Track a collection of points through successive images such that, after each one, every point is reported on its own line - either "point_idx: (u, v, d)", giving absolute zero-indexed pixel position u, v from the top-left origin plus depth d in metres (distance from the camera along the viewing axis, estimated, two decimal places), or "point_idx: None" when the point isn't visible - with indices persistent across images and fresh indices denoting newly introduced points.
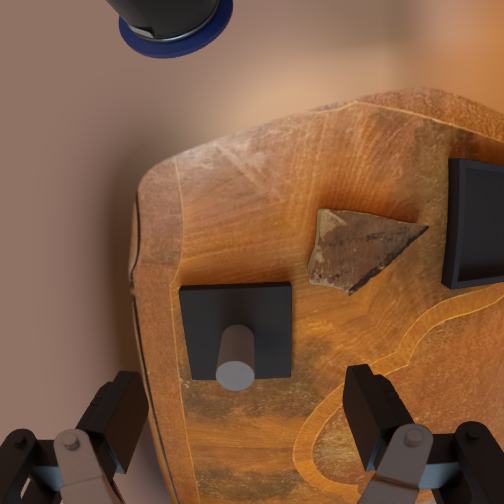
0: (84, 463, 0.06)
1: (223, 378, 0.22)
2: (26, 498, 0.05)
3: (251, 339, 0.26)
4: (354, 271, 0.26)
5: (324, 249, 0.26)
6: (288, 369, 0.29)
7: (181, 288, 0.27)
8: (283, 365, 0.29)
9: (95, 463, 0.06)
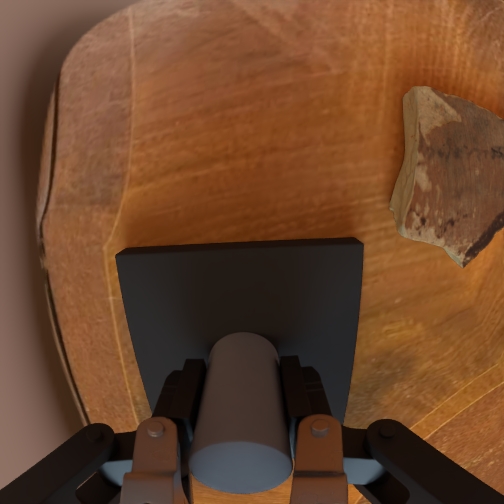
0: (162, 455, 0.06)
1: (209, 473, 0.07)
2: (85, 486, 0.07)
3: (276, 366, 0.11)
4: (476, 216, 0.11)
5: (430, 162, 0.10)
6: (340, 414, 0.14)
7: (122, 251, 0.12)
8: (333, 409, 0.14)
9: (173, 457, 0.06)
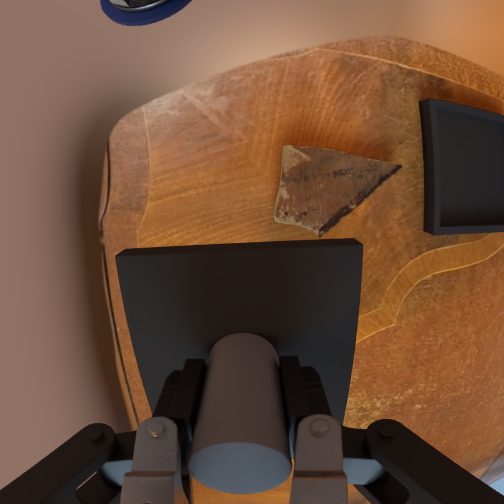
0: (162, 455, 0.06)
1: (209, 474, 0.07)
2: (86, 486, 0.07)
3: (275, 367, 0.11)
4: (323, 209, 0.25)
5: (288, 184, 0.25)
6: (340, 414, 0.14)
7: (122, 252, 0.12)
8: (332, 409, 0.14)
9: (174, 457, 0.06)
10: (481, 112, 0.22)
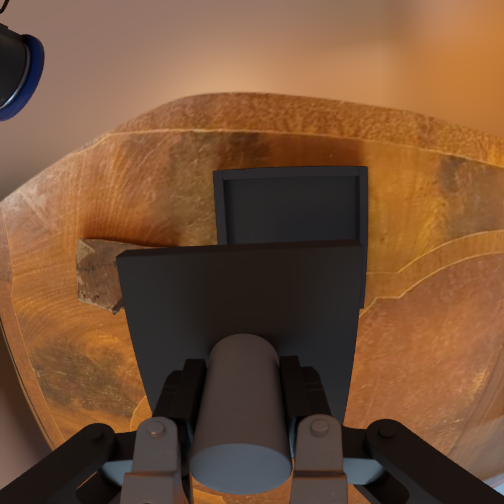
0: (162, 455, 0.06)
1: (209, 475, 0.07)
2: (86, 486, 0.07)
3: (276, 368, 0.11)
4: (110, 293, 0.28)
5: (81, 273, 0.27)
6: (340, 415, 0.14)
7: (122, 253, 0.12)
8: (332, 409, 0.14)
9: (174, 457, 0.06)
10: (301, 170, 0.25)
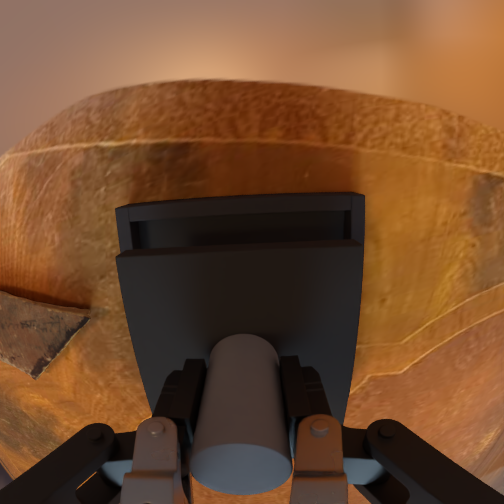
0: (162, 455, 0.06)
1: (209, 475, 0.07)
2: (86, 486, 0.07)
3: (276, 368, 0.11)
4: (24, 357, 0.18)
5: None
6: (340, 415, 0.14)
7: (122, 253, 0.12)
8: (333, 410, 0.14)
9: (174, 457, 0.06)
10: (251, 205, 0.15)
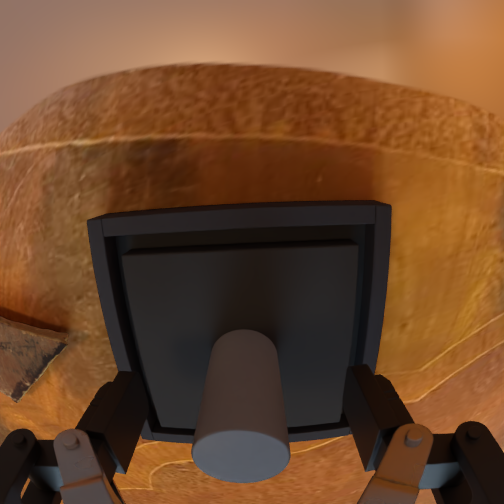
0: (84, 463, 0.06)
1: (211, 462, 0.08)
2: (26, 498, 0.05)
3: (275, 362, 0.12)
4: (3, 379, 0.15)
5: None
6: (337, 409, 0.15)
7: (128, 252, 0.13)
8: (330, 404, 0.14)
9: (95, 463, 0.06)
10: (252, 217, 0.12)
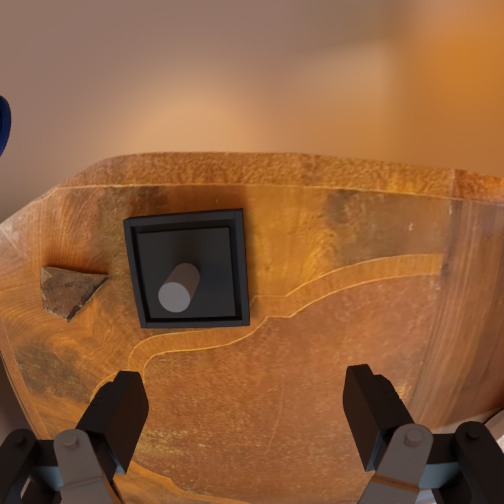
0: (84, 463, 0.06)
1: (164, 299, 0.27)
2: (26, 498, 0.05)
3: (194, 273, 0.31)
4: (64, 306, 0.34)
5: (44, 292, 0.34)
6: (232, 307, 0.34)
7: (140, 232, 0.32)
8: (228, 304, 0.34)
9: (95, 463, 0.06)
10: (186, 217, 0.32)
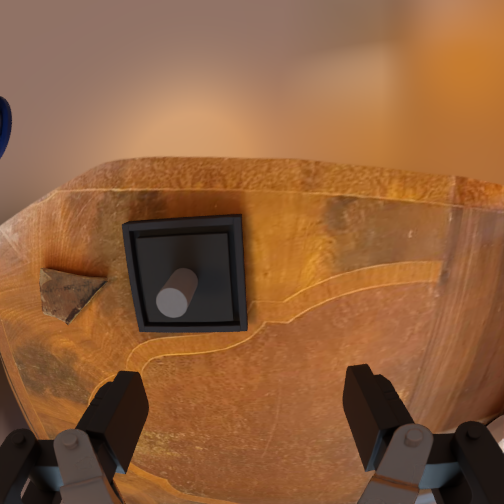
0: (84, 463, 0.06)
1: (162, 305, 0.27)
2: (26, 498, 0.05)
3: (192, 279, 0.31)
4: (63, 309, 0.35)
5: (43, 294, 0.34)
6: (230, 313, 0.34)
7: (138, 237, 0.32)
8: (225, 309, 0.34)
9: (95, 463, 0.06)
10: (184, 223, 0.32)
